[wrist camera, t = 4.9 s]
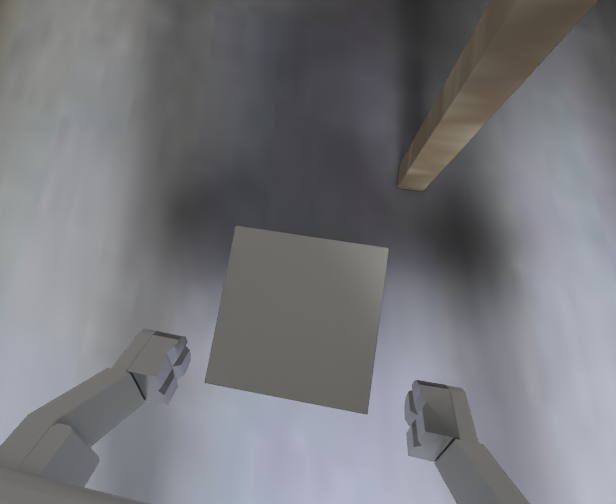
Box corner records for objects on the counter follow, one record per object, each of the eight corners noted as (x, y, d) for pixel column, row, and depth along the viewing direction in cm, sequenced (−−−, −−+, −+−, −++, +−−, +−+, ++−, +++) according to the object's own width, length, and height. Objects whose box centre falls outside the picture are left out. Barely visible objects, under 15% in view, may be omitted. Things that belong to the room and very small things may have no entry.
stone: (260, 342, 17) (204, 382, 9) (276, 256, 18) (235, 225, 10) (348, 358, 17) (367, 414, 9) (361, 269, 17) (388, 248, 10)
